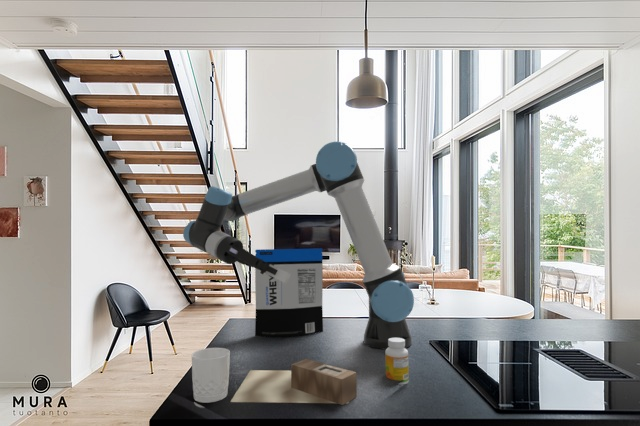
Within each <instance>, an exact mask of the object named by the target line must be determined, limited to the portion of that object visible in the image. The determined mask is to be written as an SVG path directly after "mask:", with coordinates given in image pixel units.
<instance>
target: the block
mask: <svg viewBox="0 0 640 426" xmlns="http://www.w3.org/2000/svg"><path fill="white" fill-rule="evenodd" d="M290 365H291V366H290V371H291V388H294V389H297V390H300V391H303V392H305V393H308V394H311V395H314V396H317V397H320V398H323V399H326V400H329V401H332V402H335V403H334V404H338V405H341V406H344V405H346V404H348V403H347V402H349V403H350V401H353V400H354V399H355V398H357V397H358V395H357V392H358V391H357V389H358V388H357V387H358V386H357V384H358V383H357V380H358V379H357V372H356V371H353V370H349V369H345V368H342V367H339V366H336V365H335V366H334V365H332V364H326V363H323V362H319V361H316V360H312V359H309V358H305V359H302V360H299V361H296V362H294V363H291V364H290Z"/></svg>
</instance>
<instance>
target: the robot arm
mask: <svg viewBox="0 0 640 426" xmlns="http://www.w3.org/2000/svg"><path fill="white" fill-rule="evenodd" d="M358 163H359V162H358V157H357V154H356V152H355V150H354V149H353V147H351V146H350V145H349V144H347V143H345V142H342V141H330V142H328V143H326V144H324V145H323V146H322V147H321V148H320V149H319V150H318V152H317V154H316V158H315V163H314V164H312V165H310V166H309V168H308V169H306V170H304V171H300V172H298V173H294V174H291V175H289V176H285V177H283V178H281V179H277V180H274V181H271V182H269V183H267V184H263V185H260V186H257V187H255V188H252V189H249V190H246V191H244V192H241V193H238V194H235V195H233V193H231V192H229V191H227V190H224V189H222V188H219V187H217V186H213V185H212V186H209V187H208V190H207V192H206V193H205V195H204V199H203V202H202V204H201V208H200V210H199V212H198V215H197V218H196V219H195V220H191V221H189V222H188V223H187V225H185V226H184V228H183V232H182V233H183V239H184V241H185V242H186V243H188V244H190V245H191V246H192V247H193V248H195V249H199V250H200V251H203V252H204V253H207V254H208V255H209V257H210V258H211V259H213V258H215V259H218V260H219V261H221V262H223V263H225V264H226V265H232V264H235V263H236V262H237V263H239V264H241V265H245V266H247V267H249V268H253V269H254V268H256V269H258V270H260V271H261V272H260V273H261V274H264V273H266V274H268V275H270V276H272V277H274V278H276V279H278V280H280V281H282V282H284V283H287V281H288V280H289V278H290V276H291V274H290V273H288V272H286V271H284V270H281V269H279V268H277V267H275V266H274V265H275V264H273V263H271V264H270V265H269V264H268V263H267V262H264V261H263V260H262V259H259V258H257V257H256V256H255V255H254V254H252V252H249V251H248V250H246V249H245V248H244V244H243V241H241V240H240V239H238V238H235V237H234V236H231V235H230V234H228V233H226V232H224V231H221V230H220V229H221V227H222V225H223V222H224V221H226V222H233V221H238V220H239V219H241V218H242V217H244V216H246V215H247V216H248V215H249V214H250V215H251V214H253V213H255V212H257V211H260V210H261V211H262V210H264V209H267V208H270V207H273V206H276V205H278V204H281V203H285V202H288V201H290V200H293V199H296V198H299V197H302V196H304V195H308V194H311V193H313V192H318V193H323V192H326V193H327V195H328V196H330V197H333V198H334V200H335V202H336V204H337V207H338V210H339V212H340V214H341V217H342V220H343V222H344V225H345V227H346V230H347V232H348V235H349V238H350V240H351V242H352V245H353V248H354V250H355V252H356V254H357V257H358V261H360V265H361V268H362V269H363V272H364V276H363V278H362V283H363V286H364V288H365V291H366V294H367V295H368V296H367V297H368V320H367V324H366V326H365V327H366V328H365V330H364V334H363V343H364V345H366V346H368V347H370V348H373V349H379V350H380V349H381V350H386V349H387V348H388V347H389V346H388V339H389V338H402V339H404V340H405V347H404V348H405V349H408V348H409V347H411V346H412V344H413V343H412V335H411V332H410V329H409V325H408V323H407V319H406V318H407V317H409V315H411V313H412V311H413V309H414V305H415V298H414V293H413V291H412V289H411V288H410V287H409V285H408V283H407V280H406V277H405V273H404V272H403V271H402V268H401V267H400V266H399V265H397V264H395V263H394V262H393V260H392V258H391V256H390V253H389V250H388V248H387V246H386V243H385V241H384V239H383V236H382V234H381V231H380V228H379V226H378V224H377V220H376V219H375V217H374V213H373V212H372V209H371V206H370V204H369V201H368V199H367V196H366V195H365V192H364V189H363V184H364V183H365V179H364V176H363V173H362V171H361V168H360V166H359V164H358Z"/></svg>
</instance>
